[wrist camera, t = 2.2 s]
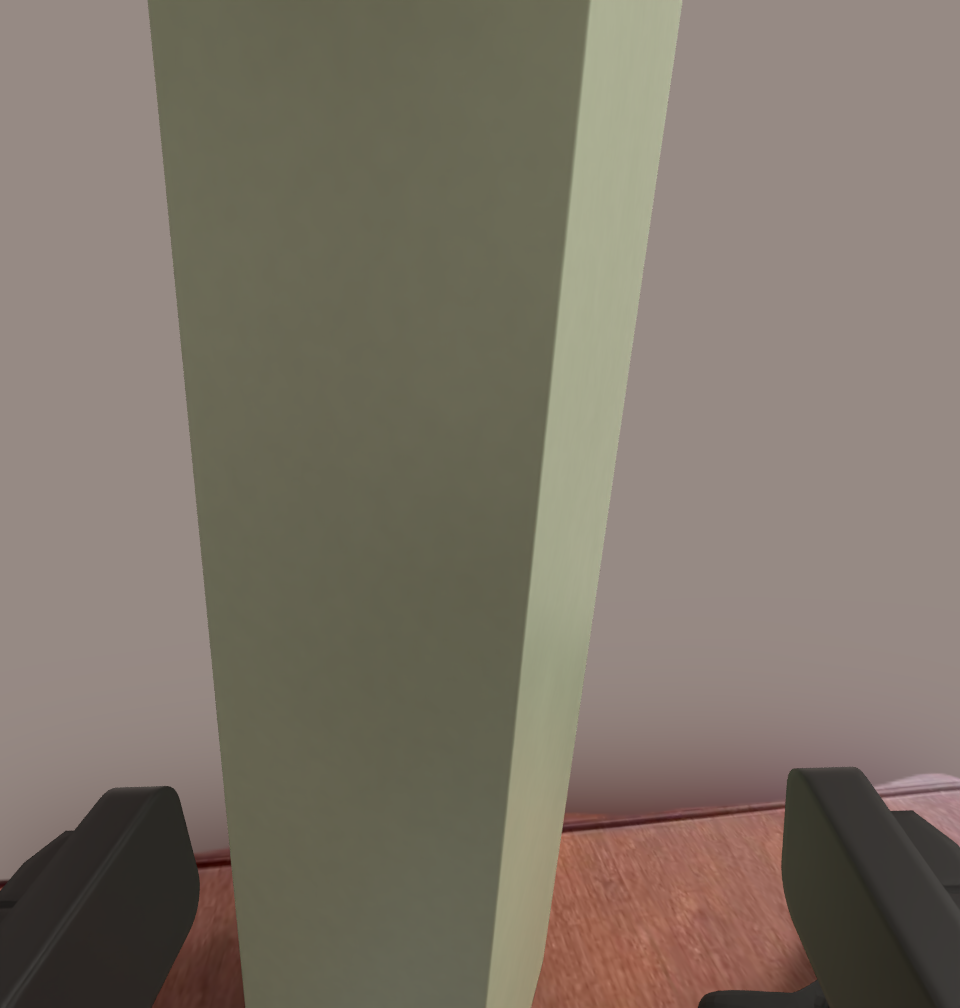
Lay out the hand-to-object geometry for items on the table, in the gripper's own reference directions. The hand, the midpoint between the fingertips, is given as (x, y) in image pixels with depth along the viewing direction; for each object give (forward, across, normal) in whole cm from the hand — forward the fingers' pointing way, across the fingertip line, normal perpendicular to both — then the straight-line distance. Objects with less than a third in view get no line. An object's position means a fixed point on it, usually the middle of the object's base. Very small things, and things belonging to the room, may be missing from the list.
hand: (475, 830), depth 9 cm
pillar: (+9, +4, +19) cm, 21 cm away
